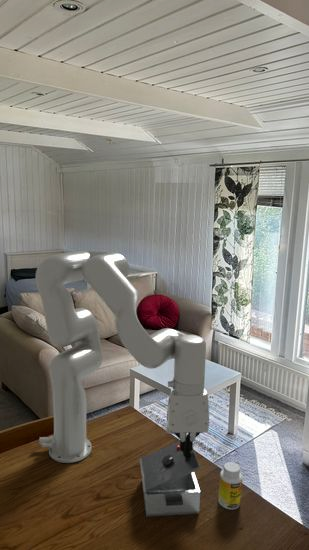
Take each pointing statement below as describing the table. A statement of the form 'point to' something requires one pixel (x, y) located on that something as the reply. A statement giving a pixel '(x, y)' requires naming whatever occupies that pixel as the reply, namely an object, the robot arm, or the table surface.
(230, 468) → the supplement bottle
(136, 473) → the table surface
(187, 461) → the lid
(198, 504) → the cooker pot
